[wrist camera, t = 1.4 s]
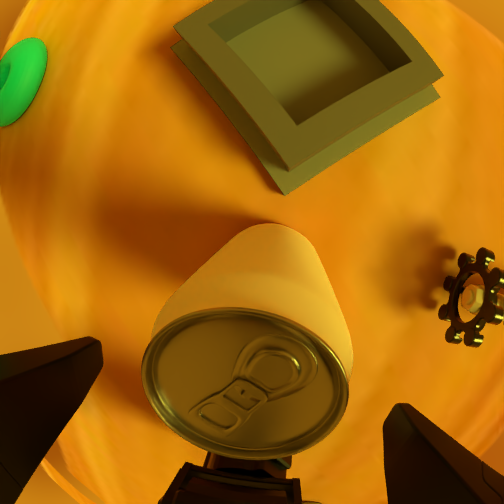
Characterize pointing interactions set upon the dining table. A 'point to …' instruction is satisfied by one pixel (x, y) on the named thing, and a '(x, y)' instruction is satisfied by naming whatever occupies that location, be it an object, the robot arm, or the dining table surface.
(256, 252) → the can
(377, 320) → the dining table surface
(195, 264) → the dining table surface
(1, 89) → the donuts
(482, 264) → the valve
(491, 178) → the dining table surface
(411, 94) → the socket holder
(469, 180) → the dining table surface
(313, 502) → the plant pot
